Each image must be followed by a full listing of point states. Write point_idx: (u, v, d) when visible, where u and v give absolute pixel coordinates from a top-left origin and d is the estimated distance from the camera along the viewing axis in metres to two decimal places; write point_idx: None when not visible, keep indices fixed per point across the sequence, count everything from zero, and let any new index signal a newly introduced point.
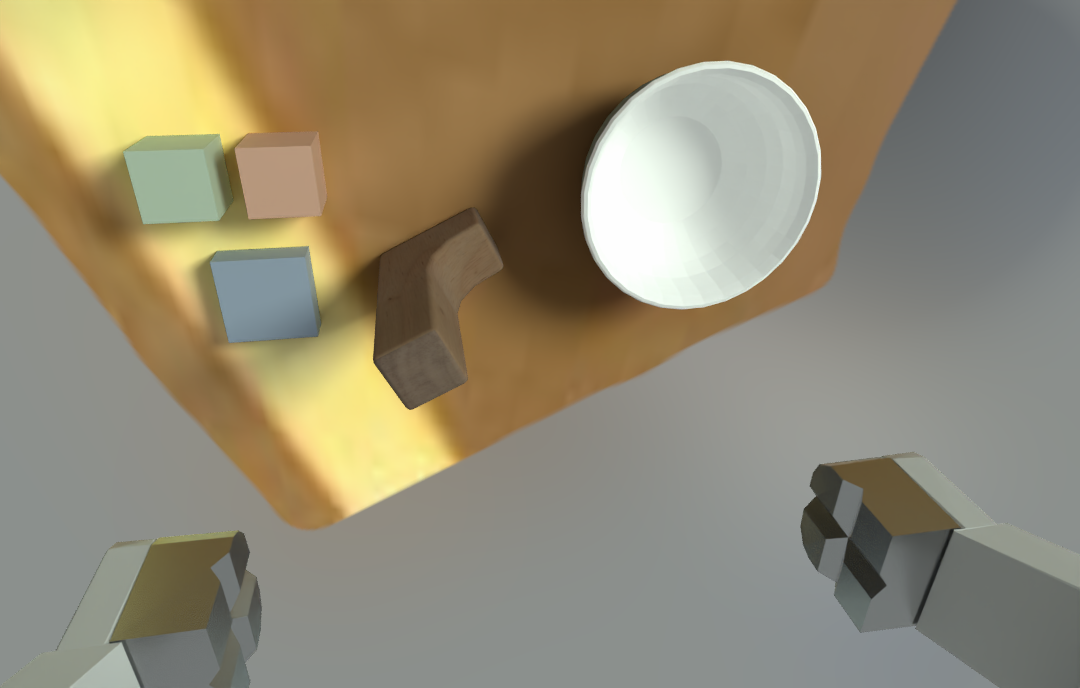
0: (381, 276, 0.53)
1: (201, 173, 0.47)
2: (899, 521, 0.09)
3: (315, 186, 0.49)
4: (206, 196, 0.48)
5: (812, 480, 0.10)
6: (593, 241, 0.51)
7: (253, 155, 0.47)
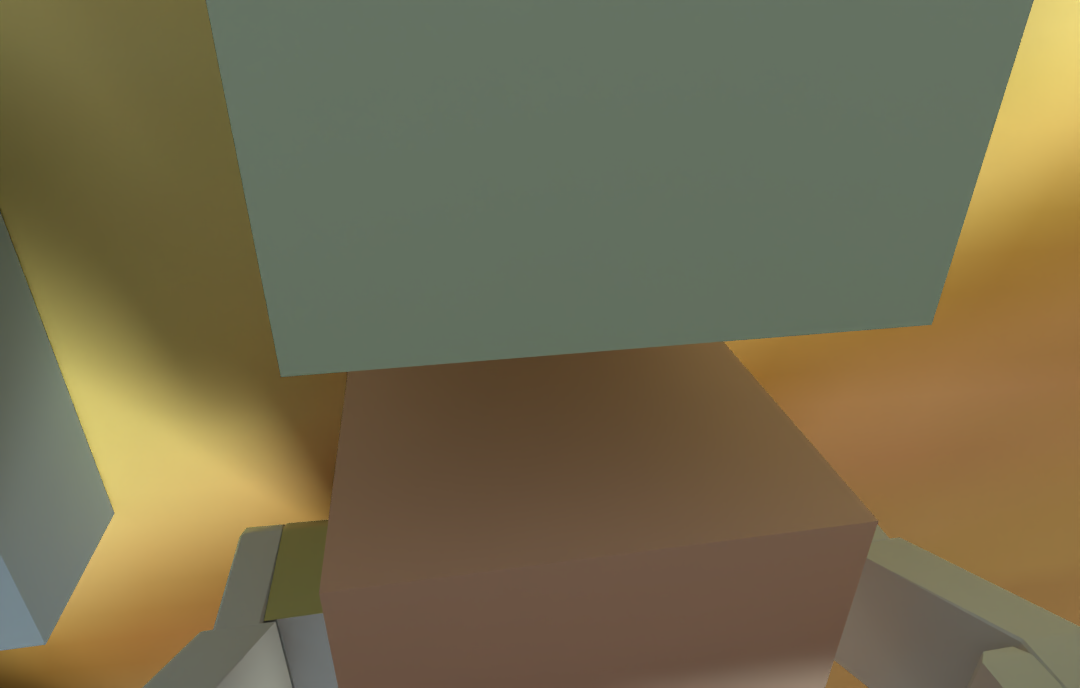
0: None
1: (750, 285, 0.05)
2: None
3: None
4: (534, 298, 0.05)
5: None
6: None
7: (802, 613, 0.07)
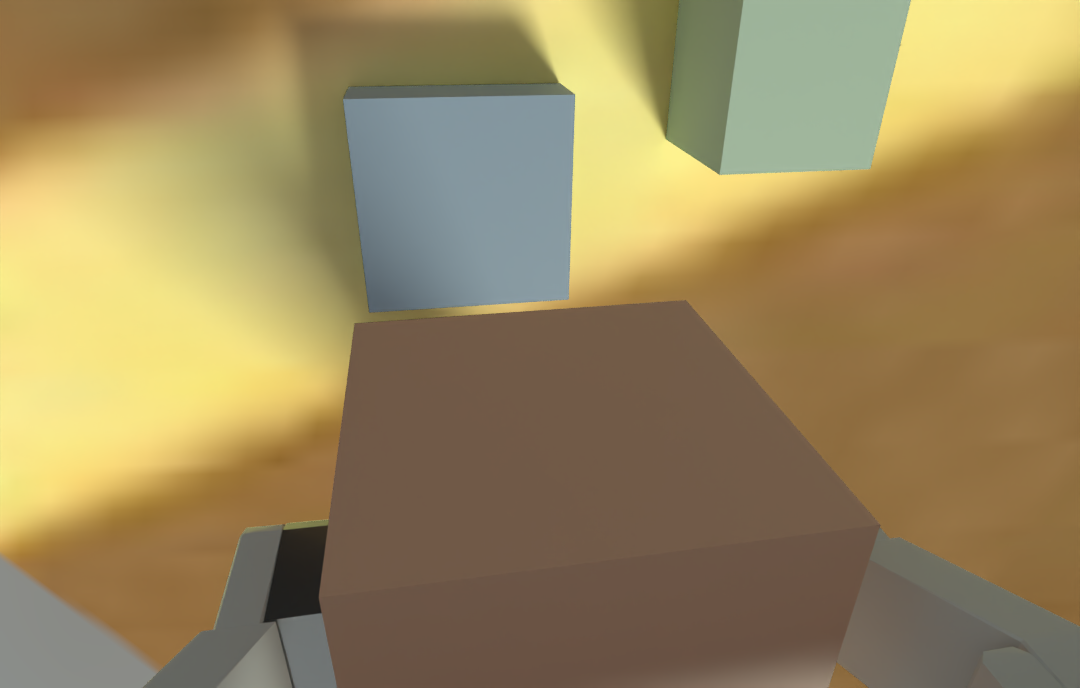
0: None
1: (825, 156, 0.21)
2: None
3: None
4: (776, 157, 0.21)
5: None
6: None
7: (803, 618, 0.07)
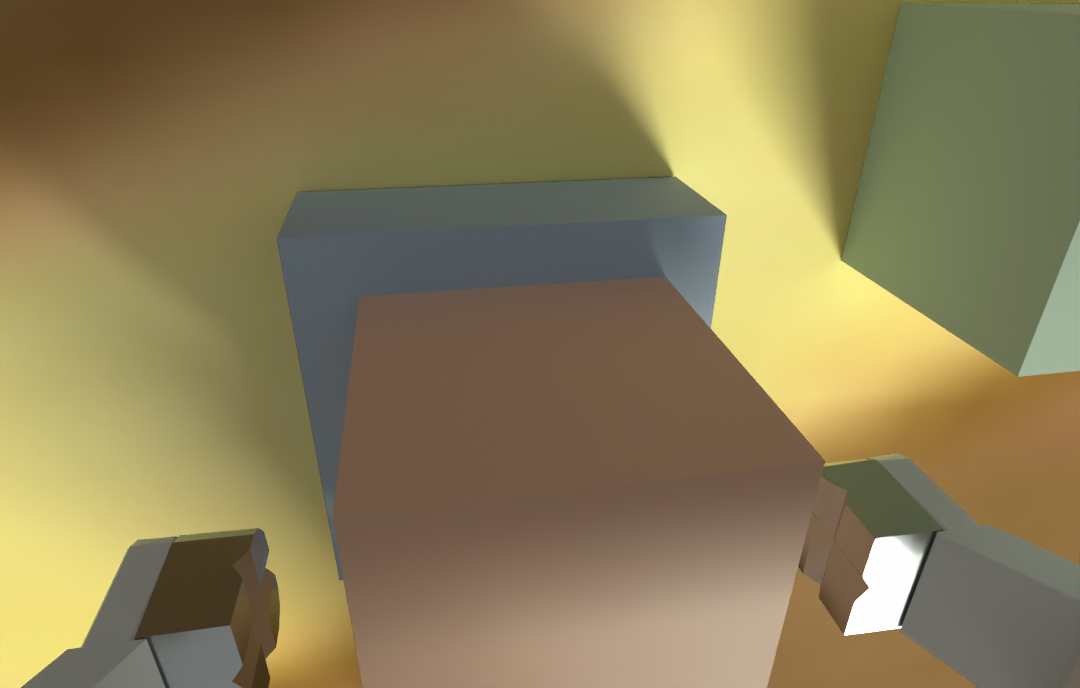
0: None
1: None
2: (882, 523, 0.09)
3: None
4: None
5: None
6: None
7: (760, 547, 0.08)
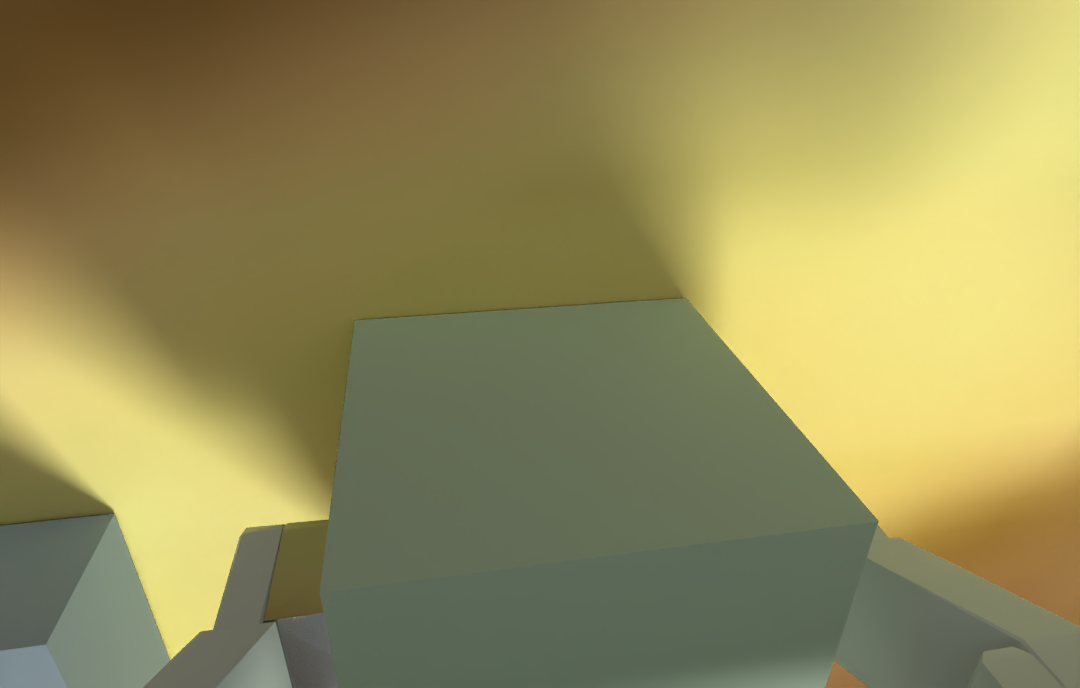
0: None
1: None
2: None
3: None
4: None
5: None
6: None
7: None
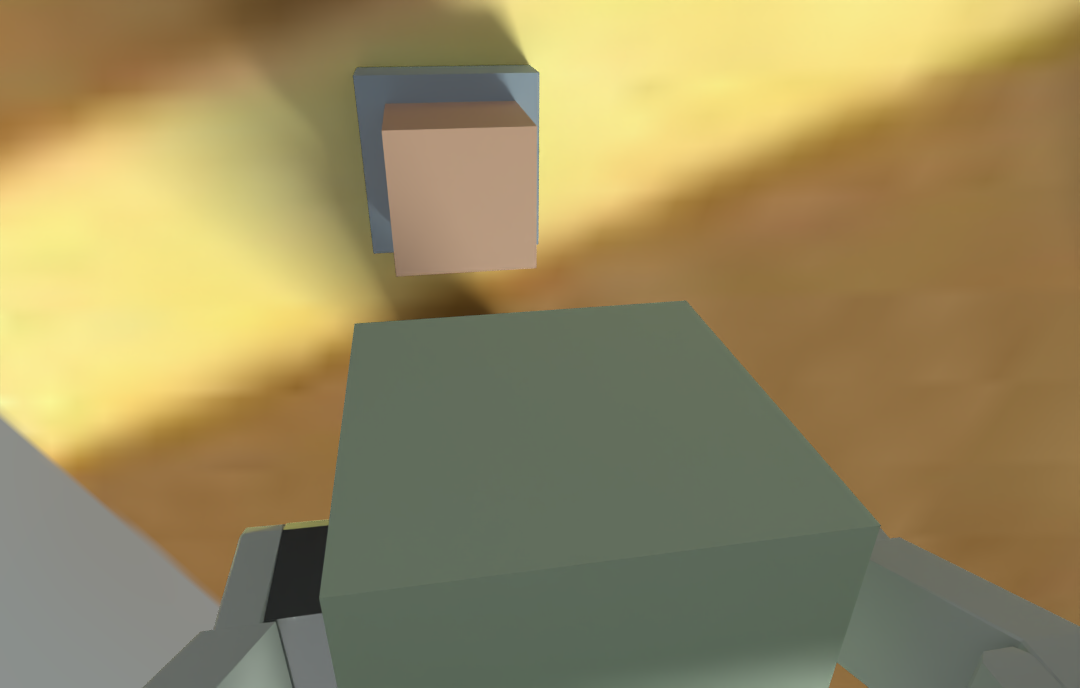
0: None
1: None
2: None
3: (457, 270, 0.25)
4: None
5: None
6: None
7: (521, 161, 0.23)
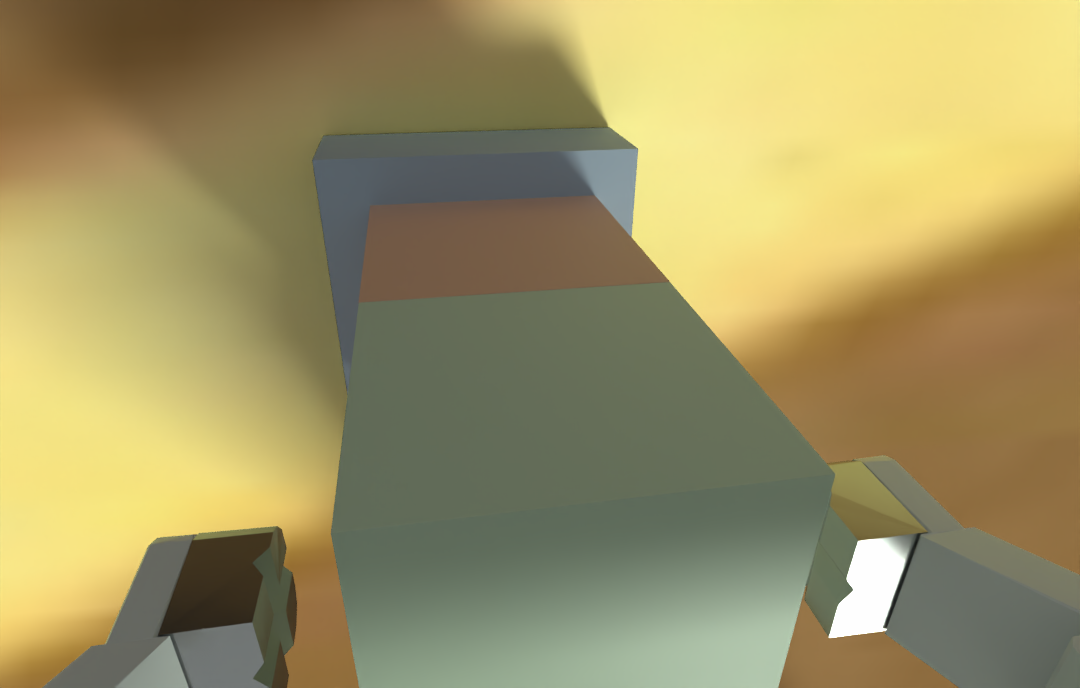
0: None
1: None
2: (866, 525, 0.09)
3: None
4: None
5: None
6: None
7: None
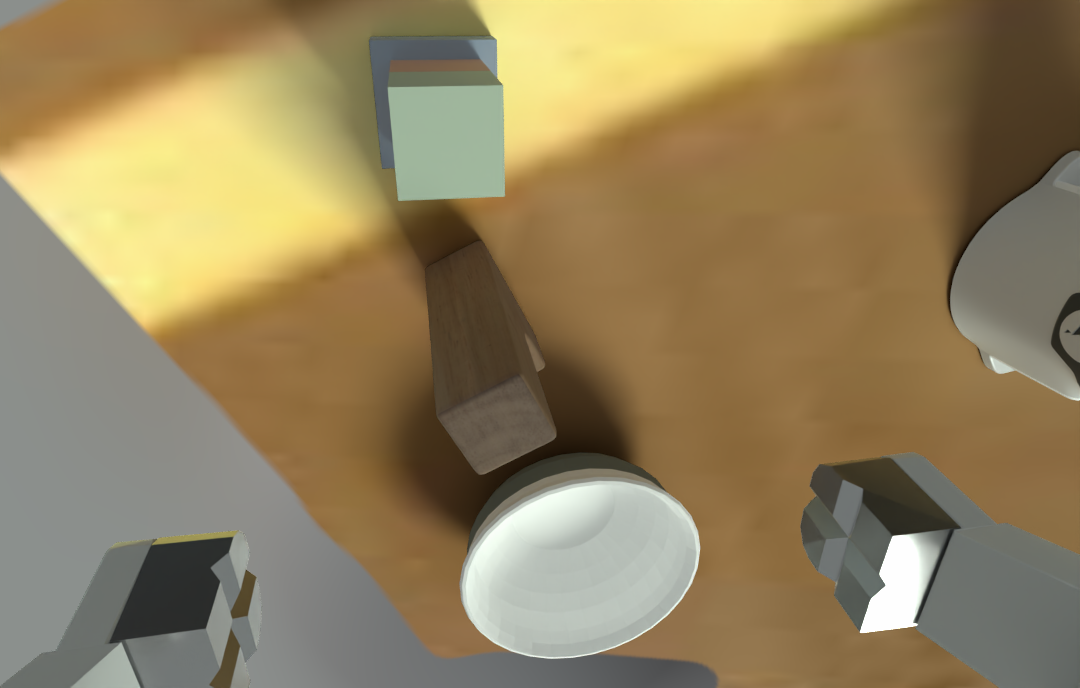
0: (493, 271, 0.42)
1: (470, 188, 0.32)
2: (899, 521, 0.09)
3: None
4: (435, 189, 0.32)
5: (812, 480, 0.10)
6: (544, 495, 0.48)
7: None
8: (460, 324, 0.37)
